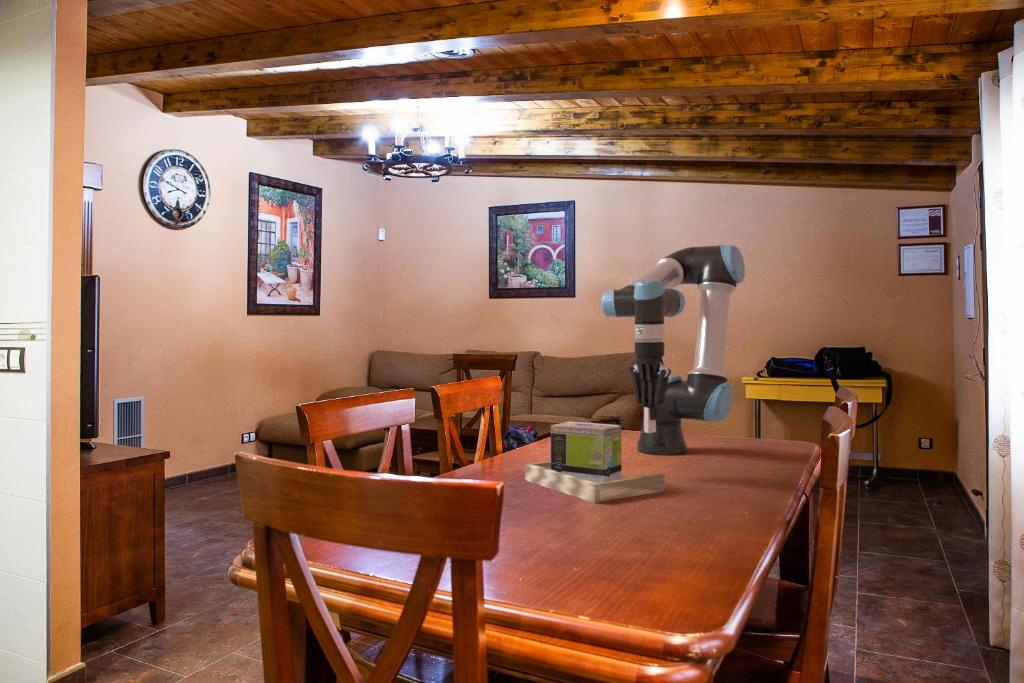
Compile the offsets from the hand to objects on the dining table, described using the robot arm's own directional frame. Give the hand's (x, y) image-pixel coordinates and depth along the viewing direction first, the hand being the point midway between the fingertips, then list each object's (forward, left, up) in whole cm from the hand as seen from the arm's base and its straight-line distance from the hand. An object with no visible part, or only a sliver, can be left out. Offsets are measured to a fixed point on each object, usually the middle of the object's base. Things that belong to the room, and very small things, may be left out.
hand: (650, 431), depth 185 cm
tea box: (-2, -20, -12) cm, 23 cm away
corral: (0, -19, -12) cm, 22 cm away
